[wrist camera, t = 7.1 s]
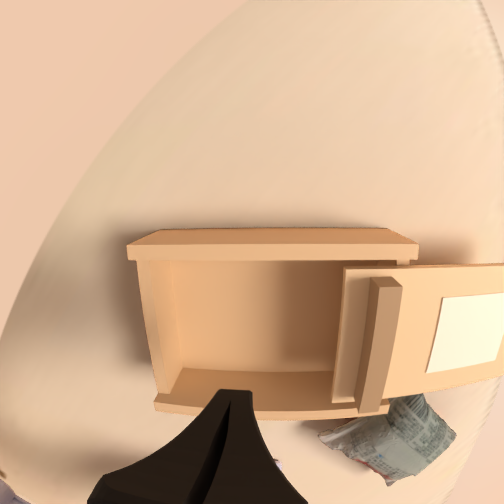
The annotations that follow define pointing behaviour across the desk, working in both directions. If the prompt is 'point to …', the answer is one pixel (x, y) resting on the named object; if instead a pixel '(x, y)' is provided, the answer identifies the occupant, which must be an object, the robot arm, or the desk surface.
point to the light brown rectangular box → (253, 313)
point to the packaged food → (394, 438)
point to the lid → (417, 330)
